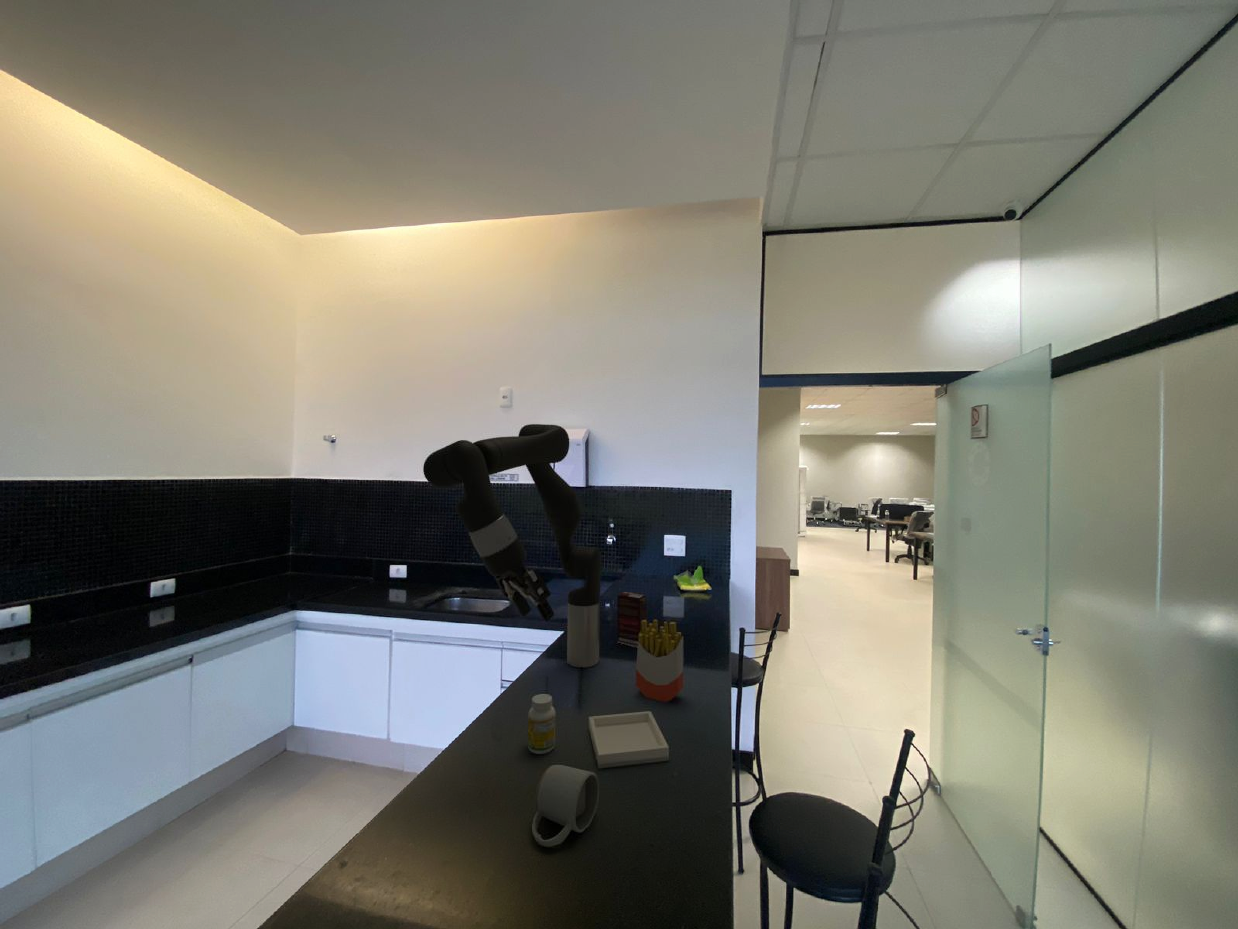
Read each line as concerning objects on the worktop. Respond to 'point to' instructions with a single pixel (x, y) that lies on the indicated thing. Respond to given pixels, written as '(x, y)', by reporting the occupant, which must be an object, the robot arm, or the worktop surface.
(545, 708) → the supplement bottle
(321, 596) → the worktop surface
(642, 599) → the supplement box
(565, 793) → the ceramic mug
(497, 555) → the robot arm
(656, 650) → the french fries container
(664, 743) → the tray
